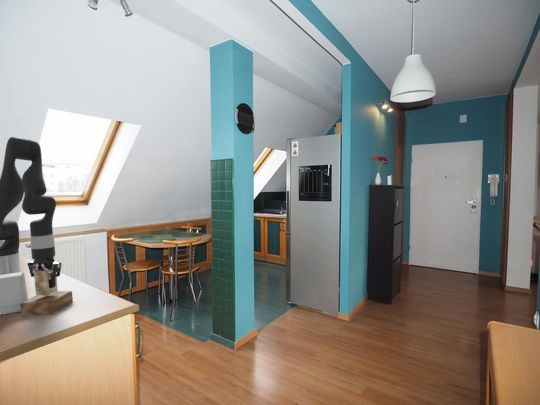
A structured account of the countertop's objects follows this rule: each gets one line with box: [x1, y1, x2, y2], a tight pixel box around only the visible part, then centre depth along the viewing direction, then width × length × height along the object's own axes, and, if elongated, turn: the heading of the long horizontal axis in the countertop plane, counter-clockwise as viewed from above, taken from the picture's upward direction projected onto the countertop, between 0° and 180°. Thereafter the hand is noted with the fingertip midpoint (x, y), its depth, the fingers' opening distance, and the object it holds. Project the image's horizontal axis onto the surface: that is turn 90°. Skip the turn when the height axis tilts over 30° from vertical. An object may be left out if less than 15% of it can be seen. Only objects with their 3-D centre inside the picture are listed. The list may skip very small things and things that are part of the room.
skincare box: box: [0, 271, 29, 316], centre depth 118 cm, size 8×6×15 cm
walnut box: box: [20, 290, 74, 316], centre depth 120 cm, size 12×12×5 cm
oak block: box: [33, 268, 59, 296], centre depth 119 cm, size 5×5×10 cm
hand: (46, 286), depth 120 cm, fingers closed on oak block, 5 cm apart
